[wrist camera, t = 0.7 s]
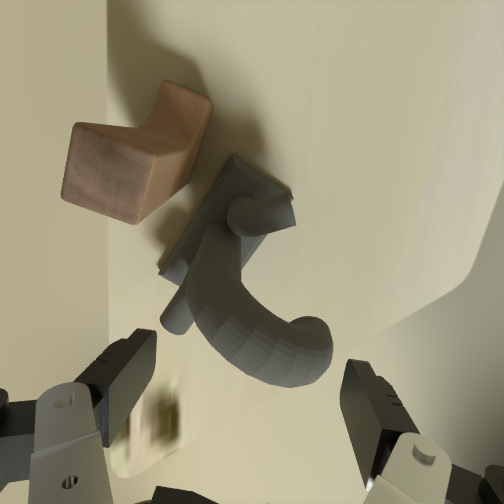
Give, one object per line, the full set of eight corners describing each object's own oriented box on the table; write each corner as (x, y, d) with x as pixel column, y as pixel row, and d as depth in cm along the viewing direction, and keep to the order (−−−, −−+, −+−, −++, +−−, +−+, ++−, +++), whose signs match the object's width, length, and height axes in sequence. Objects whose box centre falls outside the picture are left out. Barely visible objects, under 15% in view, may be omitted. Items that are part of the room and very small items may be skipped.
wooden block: (173, 85, 30) (88, 18, 14) (214, 104, 31) (182, 62, 14) (150, 169, 33) (56, 200, 16) (188, 184, 34) (136, 229, 17)
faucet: (258, 330, 41) (271, 487, 23) (157, 274, 38) (76, 404, 19) (341, 227, 36) (447, 319, 18) (235, 151, 33) (227, 166, 14)
